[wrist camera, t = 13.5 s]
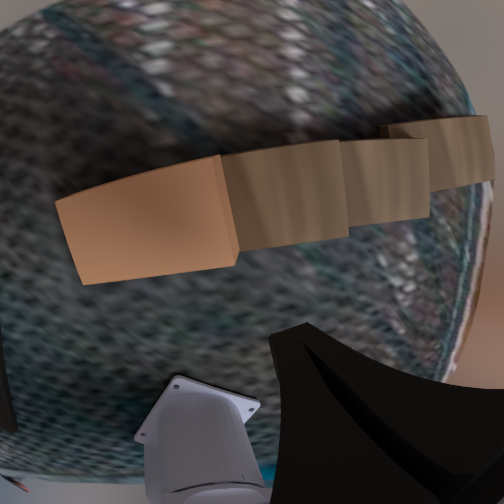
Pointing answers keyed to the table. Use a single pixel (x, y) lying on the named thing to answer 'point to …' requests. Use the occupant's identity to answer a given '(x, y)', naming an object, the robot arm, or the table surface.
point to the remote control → (5, 398)
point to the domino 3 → (385, 179)
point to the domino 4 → (451, 148)
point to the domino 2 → (287, 194)
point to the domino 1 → (152, 223)
